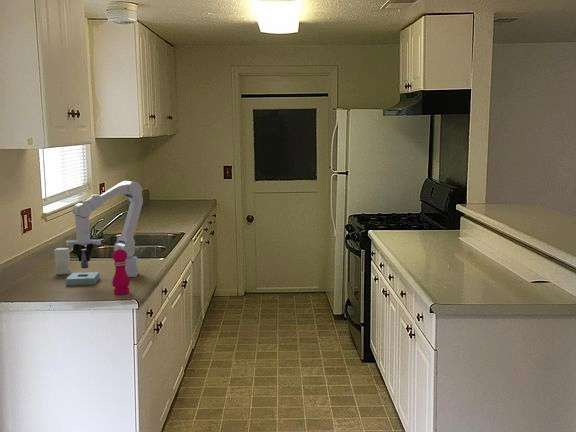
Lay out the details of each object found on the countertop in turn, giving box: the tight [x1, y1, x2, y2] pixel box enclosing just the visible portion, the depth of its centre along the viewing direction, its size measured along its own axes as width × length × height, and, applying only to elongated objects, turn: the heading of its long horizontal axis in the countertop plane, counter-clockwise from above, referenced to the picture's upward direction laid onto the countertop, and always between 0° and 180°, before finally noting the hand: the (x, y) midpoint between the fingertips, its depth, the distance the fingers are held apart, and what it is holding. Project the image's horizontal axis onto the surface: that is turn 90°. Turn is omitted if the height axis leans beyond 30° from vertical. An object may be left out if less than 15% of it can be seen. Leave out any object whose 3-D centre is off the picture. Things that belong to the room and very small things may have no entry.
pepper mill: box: [111, 246, 131, 296], centre depth 261 cm, size 7×7×20 cm
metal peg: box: [80, 248, 89, 269], centre depth 278 cm, size 3×3×8 cm
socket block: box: [65, 271, 100, 287], centre depth 281 cm, size 12×12×3 cm
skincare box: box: [53, 247, 72, 275], centre depth 296 cm, size 6×4×12 cm
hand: (84, 261), depth 278 cm, fingers closed on metal peg, 3 cm apart
